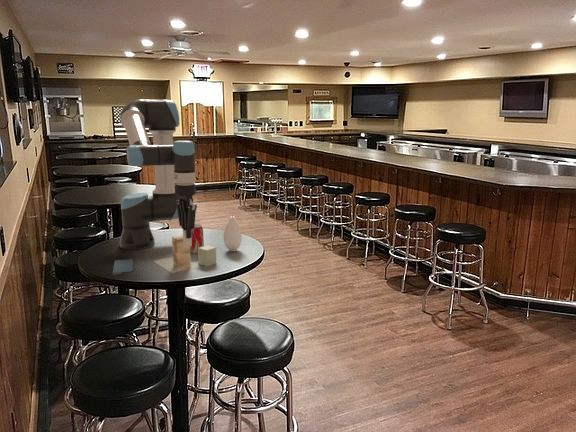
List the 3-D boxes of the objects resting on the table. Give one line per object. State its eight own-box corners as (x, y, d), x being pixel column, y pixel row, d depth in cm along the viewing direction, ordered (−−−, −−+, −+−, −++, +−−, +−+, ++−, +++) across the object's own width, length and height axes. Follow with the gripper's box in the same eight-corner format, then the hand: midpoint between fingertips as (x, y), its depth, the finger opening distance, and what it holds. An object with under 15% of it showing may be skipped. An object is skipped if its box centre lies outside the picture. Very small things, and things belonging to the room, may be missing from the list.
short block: (198, 265, 182) (197, 248, 180) (207, 261, 186) (207, 245, 184) (207, 267, 179) (206, 250, 177) (216, 264, 183) (215, 247, 181)
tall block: (173, 266, 178) (171, 236, 175) (185, 264, 181) (183, 234, 178) (178, 270, 174) (177, 239, 172) (190, 267, 177) (189, 237, 175)
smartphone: (111, 273, 169) (114, 259, 183) (112, 277, 170) (114, 263, 183) (133, 271, 171) (133, 258, 185) (133, 275, 172) (134, 262, 186)
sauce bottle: (239, 247, 206) (239, 208, 202) (243, 252, 198) (243, 212, 194) (222, 249, 203) (221, 209, 199) (225, 254, 196) (224, 213, 192)
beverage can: (200, 255, 194) (199, 227, 191) (186, 254, 195) (185, 227, 193) (206, 251, 200) (205, 224, 197) (192, 250, 201) (191, 223, 199)
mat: (153, 261, 185) (153, 261, 185) (180, 256, 192) (180, 255, 192) (171, 274, 171) (171, 272, 171) (200, 267, 178) (200, 266, 178)
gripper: (167, 182, 169) (170, 243, 174) (183, 186, 159) (186, 251, 164) (186, 180, 173) (188, 240, 178) (202, 185, 163) (204, 248, 168)
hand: (187, 246), depth 171 cm, fingers closed
